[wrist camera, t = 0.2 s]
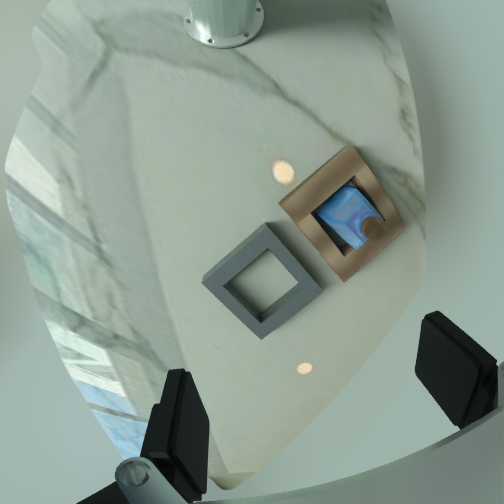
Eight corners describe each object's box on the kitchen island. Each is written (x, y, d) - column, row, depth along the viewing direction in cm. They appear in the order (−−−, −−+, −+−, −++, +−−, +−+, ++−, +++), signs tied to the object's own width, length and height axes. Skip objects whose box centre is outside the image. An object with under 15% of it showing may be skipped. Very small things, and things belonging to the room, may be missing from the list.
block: (203, 275, 48) (201, 282, 45) (264, 222, 46) (267, 226, 43) (259, 330, 51) (261, 339, 48) (318, 284, 50) (323, 291, 47)
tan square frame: (278, 202, 45) (281, 206, 42) (344, 146, 43) (353, 145, 40) (337, 274, 49) (344, 282, 46) (396, 222, 47) (406, 226, 44)
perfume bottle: (366, 211, 46) (403, 227, 35) (341, 239, 48) (373, 262, 36) (341, 185, 45) (375, 193, 34) (316, 213, 46) (343, 230, 35)
